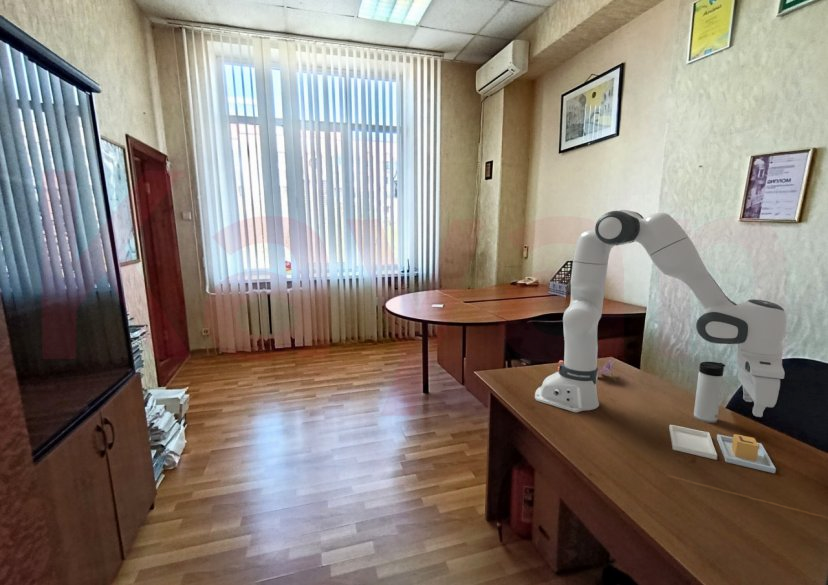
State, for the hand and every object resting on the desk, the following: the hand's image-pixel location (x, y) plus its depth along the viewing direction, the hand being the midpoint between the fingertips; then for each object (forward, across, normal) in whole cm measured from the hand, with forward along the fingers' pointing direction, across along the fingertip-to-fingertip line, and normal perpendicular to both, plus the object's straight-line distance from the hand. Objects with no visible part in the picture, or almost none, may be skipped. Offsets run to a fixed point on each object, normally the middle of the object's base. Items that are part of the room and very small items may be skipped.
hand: (752, 407), depth 101 cm
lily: (+14, -42, -38) cm, 58 cm away
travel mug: (+15, -20, -6) cm, 25 cm away
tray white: (+15, 0, -12) cm, 19 cm away
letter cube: (+14, 0, 0) cm, 14 cm away
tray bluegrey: (+15, 0, 0) cm, 15 cm away
